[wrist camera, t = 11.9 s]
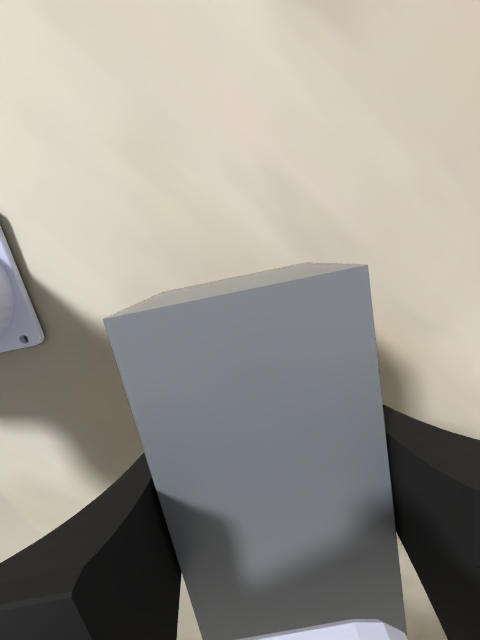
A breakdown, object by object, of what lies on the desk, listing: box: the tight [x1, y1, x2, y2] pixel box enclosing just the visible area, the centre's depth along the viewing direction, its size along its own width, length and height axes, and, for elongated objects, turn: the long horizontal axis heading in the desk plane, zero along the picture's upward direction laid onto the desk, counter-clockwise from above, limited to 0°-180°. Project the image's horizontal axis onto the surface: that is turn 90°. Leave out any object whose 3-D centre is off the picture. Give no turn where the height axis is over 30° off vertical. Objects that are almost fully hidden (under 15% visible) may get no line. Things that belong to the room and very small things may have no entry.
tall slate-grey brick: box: [103, 263, 407, 640], centre depth 10 cm, size 6×12×6 cm, turn 12°
